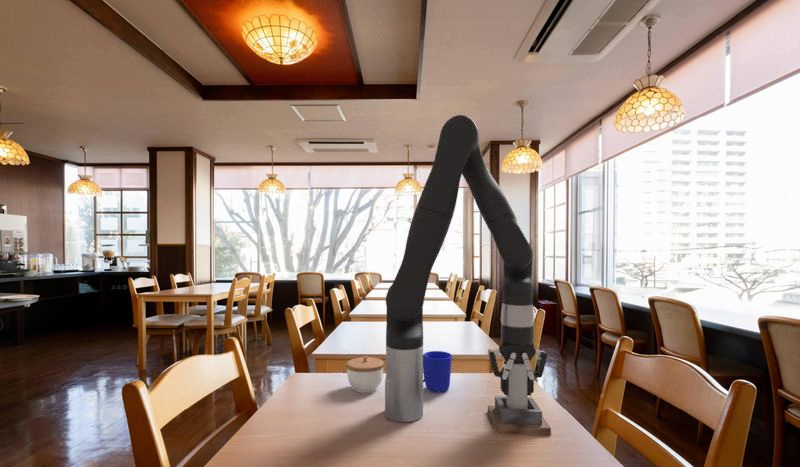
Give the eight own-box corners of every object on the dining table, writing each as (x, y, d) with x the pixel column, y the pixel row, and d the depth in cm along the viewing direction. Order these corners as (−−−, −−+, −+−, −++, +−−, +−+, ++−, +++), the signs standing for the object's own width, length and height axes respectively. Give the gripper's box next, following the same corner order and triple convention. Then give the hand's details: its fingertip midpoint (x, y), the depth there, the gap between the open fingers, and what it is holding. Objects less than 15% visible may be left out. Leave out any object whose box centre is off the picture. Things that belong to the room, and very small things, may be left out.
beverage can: (529, 416, 98) (530, 365, 98) (509, 416, 98) (509, 364, 98) (524, 408, 103) (524, 359, 103) (504, 408, 103) (504, 358, 103)
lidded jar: (382, 396, 117) (382, 362, 117) (344, 396, 117) (344, 362, 117) (384, 382, 127) (384, 351, 127) (349, 382, 127) (349, 351, 127)
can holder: (496, 433, 94) (496, 413, 94) (487, 411, 106) (487, 393, 106) (550, 435, 94) (550, 414, 94) (536, 412, 106) (536, 394, 106)
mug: (411, 383, 127) (411, 349, 127) (452, 385, 125) (452, 351, 125) (408, 393, 119) (408, 357, 119) (451, 395, 117) (451, 359, 117)
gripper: (489, 325, 97) (489, 399, 97) (552, 326, 96) (552, 401, 96) (484, 319, 104) (484, 387, 104) (543, 319, 104) (542, 389, 104)
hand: (517, 393), depth 100 cm, fingers closed on beverage can, 4 cm apart
